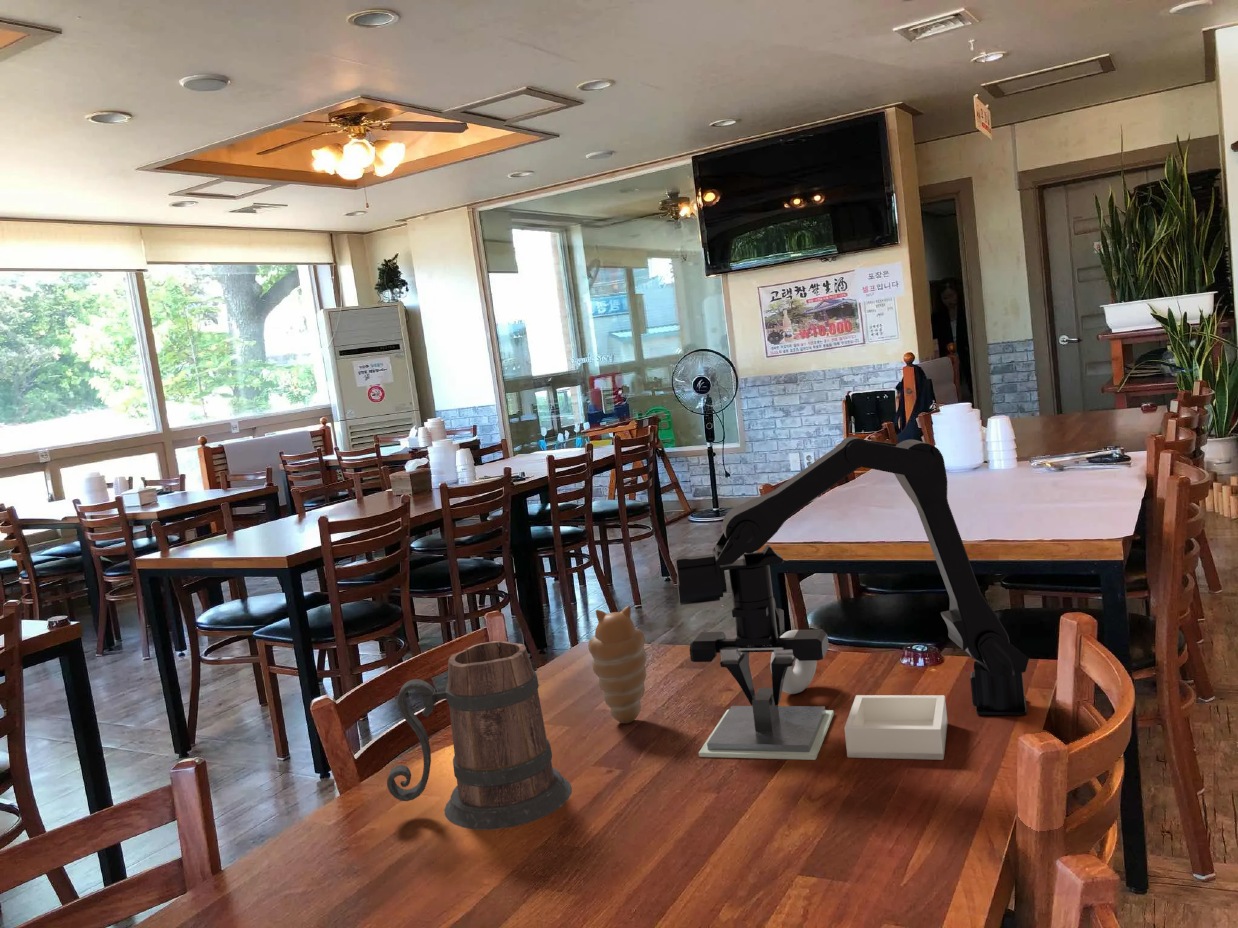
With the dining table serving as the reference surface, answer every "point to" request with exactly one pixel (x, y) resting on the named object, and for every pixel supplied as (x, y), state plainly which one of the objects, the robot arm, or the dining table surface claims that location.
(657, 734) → the dining table surface
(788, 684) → the donut
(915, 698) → the dish
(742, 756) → the mat
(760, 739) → the lid
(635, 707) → the cat ice cream
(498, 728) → the tankard
